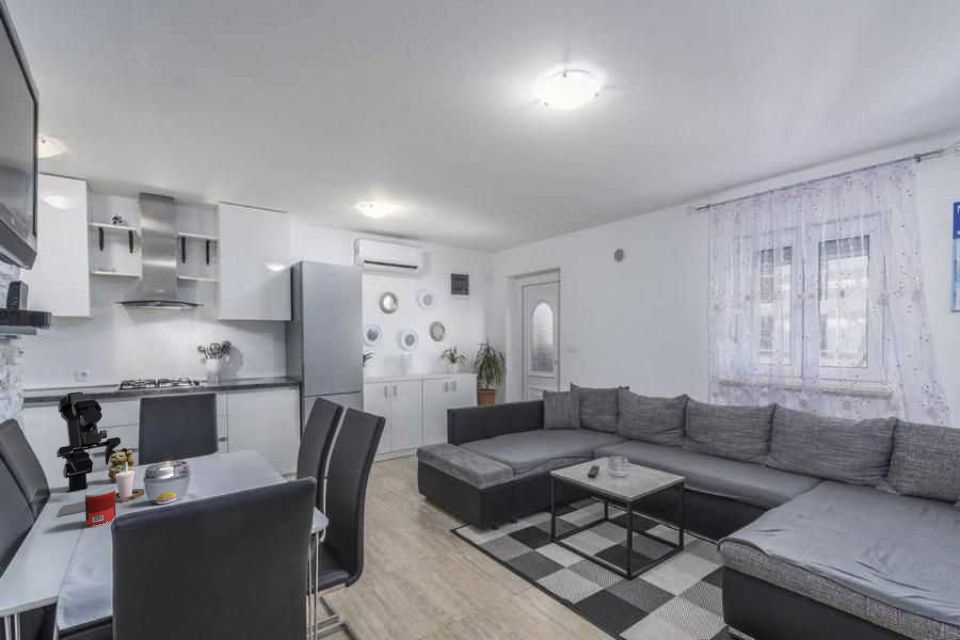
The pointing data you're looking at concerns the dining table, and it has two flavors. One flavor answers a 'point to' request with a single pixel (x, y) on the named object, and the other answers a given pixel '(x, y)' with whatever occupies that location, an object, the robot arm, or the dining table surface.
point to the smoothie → (125, 482)
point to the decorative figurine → (120, 462)
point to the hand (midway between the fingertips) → (92, 468)
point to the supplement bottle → (166, 497)
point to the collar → (126, 499)
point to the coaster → (72, 509)
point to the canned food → (100, 506)
